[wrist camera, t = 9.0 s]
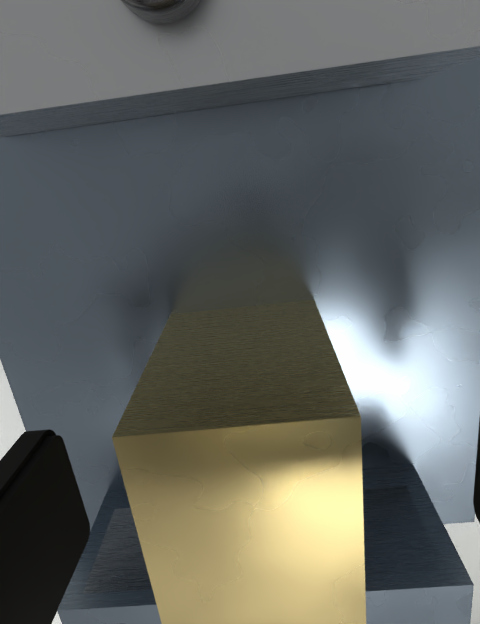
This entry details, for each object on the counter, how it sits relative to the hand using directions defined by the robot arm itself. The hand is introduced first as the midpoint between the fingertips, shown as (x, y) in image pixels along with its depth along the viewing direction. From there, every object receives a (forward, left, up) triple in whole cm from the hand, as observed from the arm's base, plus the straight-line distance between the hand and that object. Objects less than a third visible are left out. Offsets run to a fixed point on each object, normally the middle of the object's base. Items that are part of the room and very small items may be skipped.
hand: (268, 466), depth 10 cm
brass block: (0, 0, -3) cm, 3 cm away
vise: (+1, -2, -4) cm, 5 cm away
